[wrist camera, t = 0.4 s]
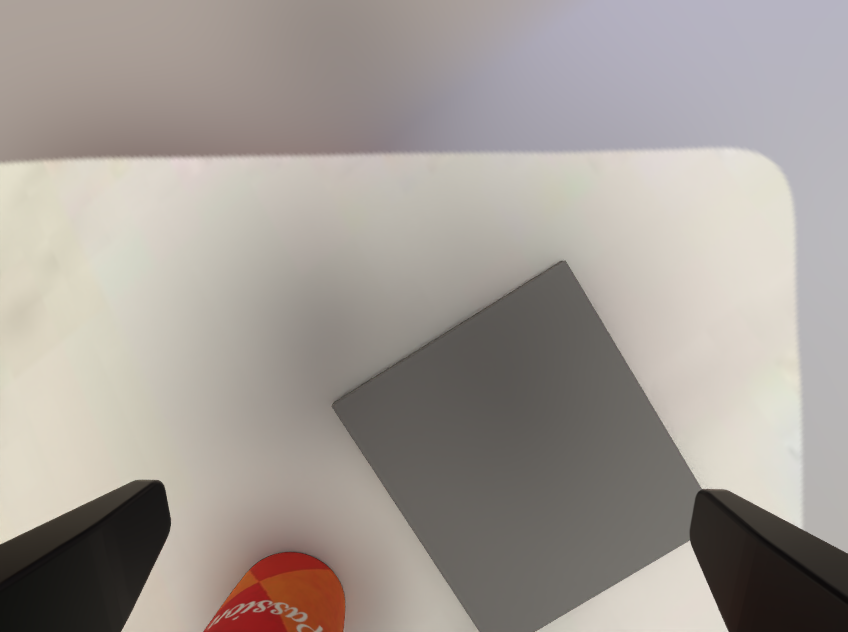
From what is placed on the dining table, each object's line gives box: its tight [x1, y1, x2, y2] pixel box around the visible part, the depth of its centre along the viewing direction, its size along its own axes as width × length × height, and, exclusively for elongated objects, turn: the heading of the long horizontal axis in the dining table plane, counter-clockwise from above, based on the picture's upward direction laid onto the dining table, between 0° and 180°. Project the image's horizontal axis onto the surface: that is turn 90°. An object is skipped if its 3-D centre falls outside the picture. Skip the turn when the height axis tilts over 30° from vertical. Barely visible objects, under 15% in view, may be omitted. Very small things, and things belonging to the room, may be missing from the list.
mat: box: [332, 261, 702, 632], centre depth 23 cm, size 13×15×1 cm
